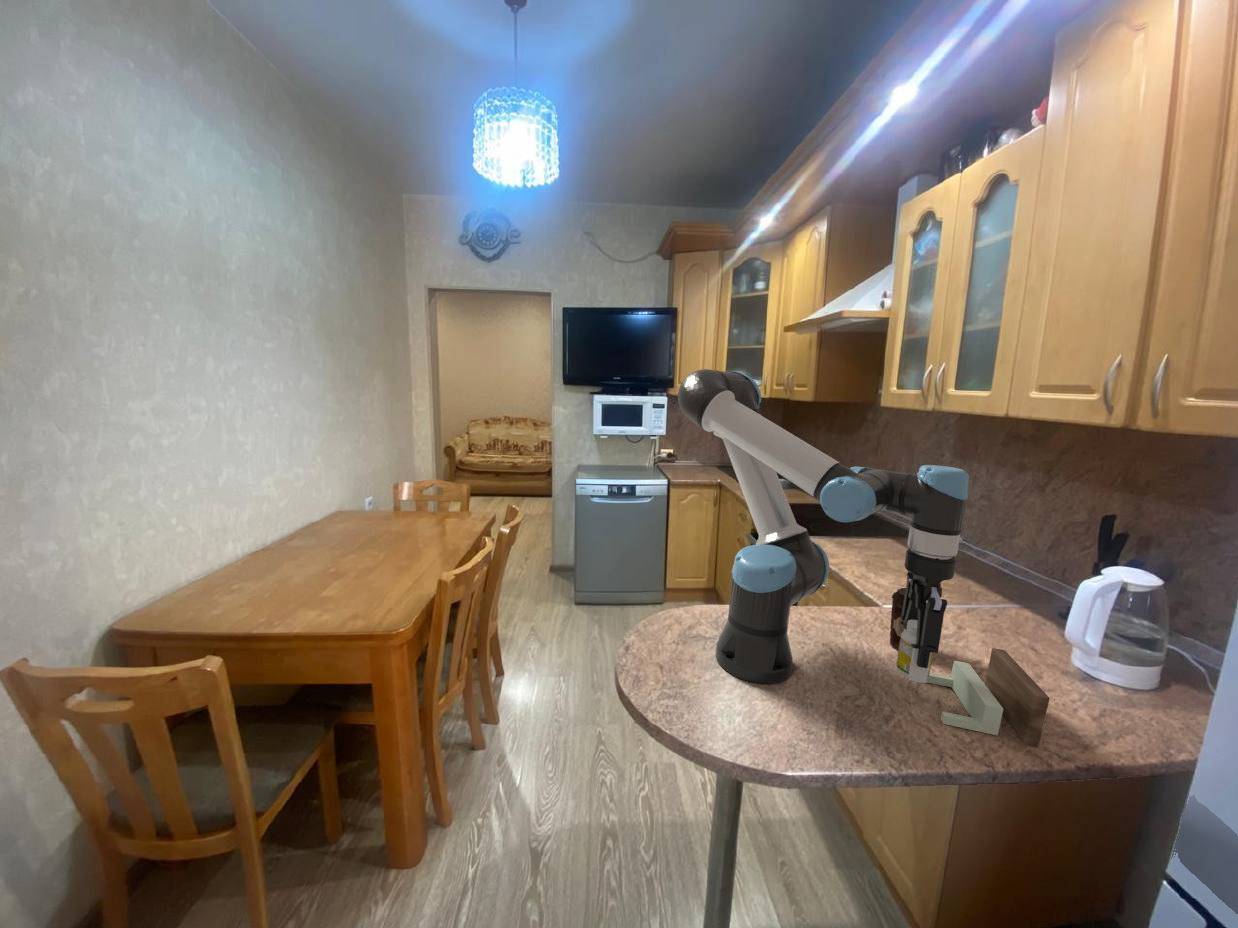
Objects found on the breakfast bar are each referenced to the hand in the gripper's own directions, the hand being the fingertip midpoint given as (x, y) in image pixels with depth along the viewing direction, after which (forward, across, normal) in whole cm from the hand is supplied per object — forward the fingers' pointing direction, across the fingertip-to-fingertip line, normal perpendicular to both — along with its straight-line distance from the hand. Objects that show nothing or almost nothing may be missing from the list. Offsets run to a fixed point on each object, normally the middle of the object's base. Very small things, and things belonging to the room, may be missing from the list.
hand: (912, 671), depth 89 cm
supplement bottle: (0, 0, 0) cm, 1 cm away
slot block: (+5, 0, -8) cm, 9 cm away
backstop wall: (+5, 0, -16) cm, 17 cm away
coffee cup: (+5, +20, -5) cm, 21 cm away
